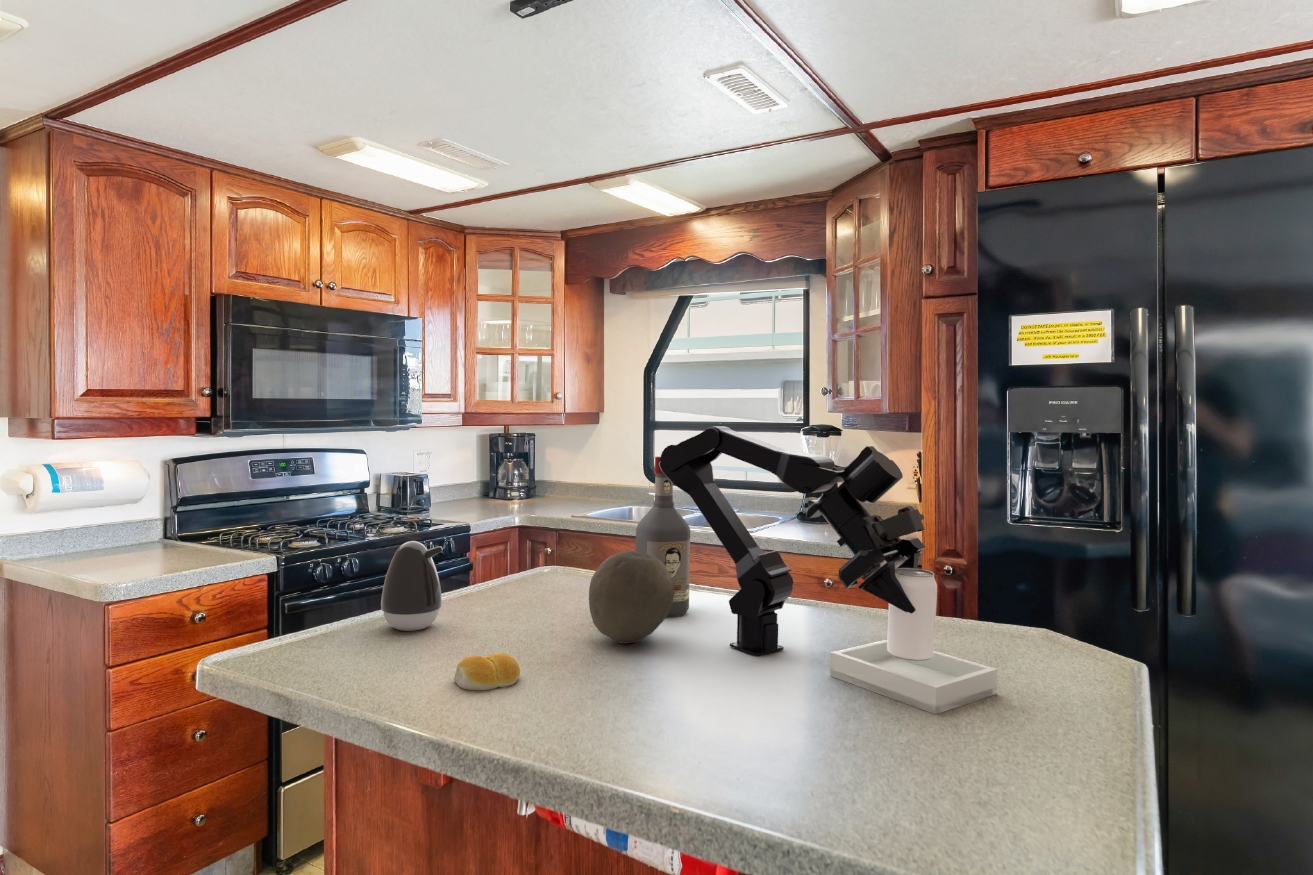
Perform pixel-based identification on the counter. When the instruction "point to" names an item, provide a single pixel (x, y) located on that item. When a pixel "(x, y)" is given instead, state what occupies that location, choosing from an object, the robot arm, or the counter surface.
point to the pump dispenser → (412, 588)
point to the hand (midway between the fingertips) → (921, 608)
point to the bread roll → (487, 672)
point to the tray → (915, 677)
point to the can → (913, 617)
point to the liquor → (667, 540)
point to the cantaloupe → (630, 596)
